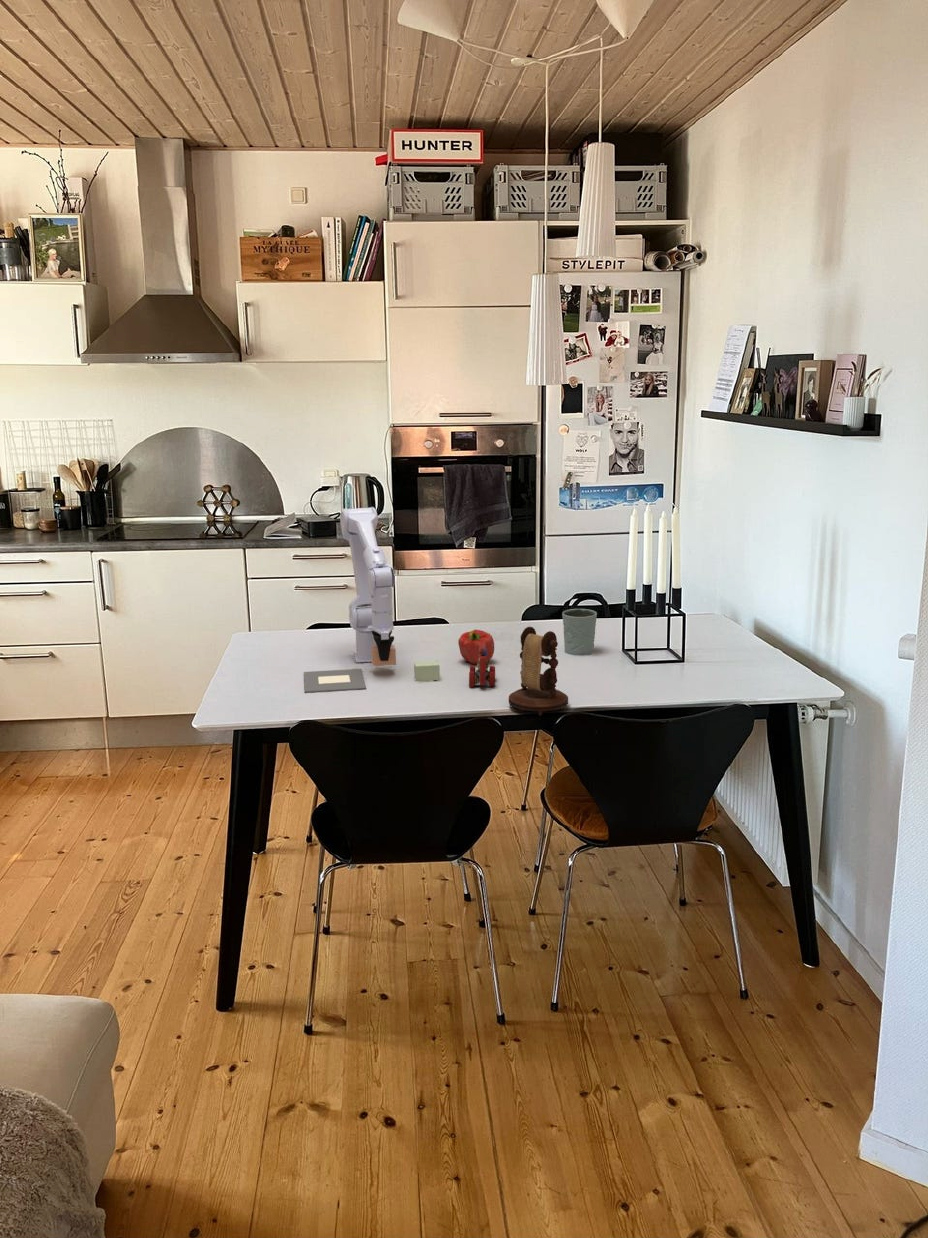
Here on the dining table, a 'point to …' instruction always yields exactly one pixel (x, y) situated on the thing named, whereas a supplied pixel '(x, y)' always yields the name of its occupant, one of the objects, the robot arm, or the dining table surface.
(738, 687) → the dining table surface
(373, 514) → the robot arm
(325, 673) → the mat
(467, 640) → the vegetable
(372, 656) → the terracotta brick
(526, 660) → the scroll
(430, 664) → the sage brick
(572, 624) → the grey green cup
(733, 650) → the dining table surface
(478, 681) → the toy fire truck
